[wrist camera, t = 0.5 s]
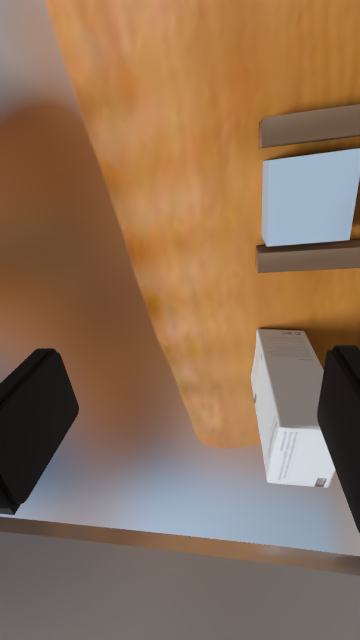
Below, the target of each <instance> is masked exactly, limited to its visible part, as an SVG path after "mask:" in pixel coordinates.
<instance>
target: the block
mask: <svg viewBox="0 0 360 640" xmlns="http://www.w3.org/2000/svg"><path fill="white" fill-rule="evenodd" d="M359 178H360V148H358V149H350V150H342V151H335V152H327V153H320V154H312V155H305V156H297V157H289V158H282V159H274V160H267V161H263V190H262V238H263V240H264V242H265V244H266V246H267V247H269V246H281V245H294V244H306V243H319V242H331V241H344V240H350V234H351V228H352V221H353V215H354V209H355V203H356V197H357V190H358V184H359Z"/></svg>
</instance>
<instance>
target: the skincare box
mask: <svg viewBox="0 0 360 640" xmlns="http://www.w3.org/2000/svg"><path fill="white" fill-rule="evenodd" d="M256 337H257V338H256V349H255V357H254V363H253V369H252V373H251V382H252V389H253V395H254V402H255V408H256V414H257V420H258V427H259V433H260V438H261V443H262V449H263V455H264V463H265V470H266V477H267V482H269V483H277V484H290V485H302V486H316V487H329V486H330V483H331V480H332V477H333V475H334V472H335V467H334V464H333V462H332V459H331V456H330V453H329V451H328V448H327V445H326V443H325V440H324V437H323V435H322V432H321V429H320V427H319V424H318V420H317V409H318V403H319V397H320V391H321V385H322V379H323V373H324V370H323V368H322V366H321V364H320V362H319V360H318V358H317V356H316V354H315V352H314V350H313V348H312V346H311V344H310V342H309V340H308V338H307V336H306V334H305V332H304V331H298V330H277V329H257V334H256Z"/></svg>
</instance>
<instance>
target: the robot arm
mask: <svg viewBox="0 0 360 640" xmlns="http://www.w3.org/2000/svg"><path fill="white" fill-rule="evenodd" d="M78 411H79V406H78V403H77V400H76V397H75V394H74V392H73V389H72V386H71V383H70V380H69V378H68V375H67V372H66V369H65V366H64V364H63V361H62V358H61V355H60V354H59V353H58V352H56V350H55V349H36V350H35V351H34V352H33V353H32V354H31V355H30V356H29V357H28V358H27V359H25V360H24V361H23V362H22V363H21V364H20V365H19V366H18V367H17V368H16V369H15V370H14V371H13V372H12V373H11V374H10V375H9V376H8V377H7V378H6V379H5V380H4V381H3V382H2V383H0V514H9V515H14V514H15V513H16V511H17V509H18V508H19V506H20V504H22V503H24V502H25V501H26V500H27V498H28V497H29V495H30V494H31V492H32V490H33V488H34V487H35V485H36V484H37V482H38V480H39V479H40V477H41V475H42V473H43V472H44V470H45V468H46V467H47V465H48V463H49V462H50V460H51V458H52V457H53V455H54V453H55V452H56V450H57V448H58V447H59V445H60V443H61V442H62V440H63V438H64V437H65V435H66V433H67V432H68V429H69V428H70V427H71V425H72V423H73V422H74V420H75V418H76V417H77V415H78ZM317 420H318V424H319V427H320V429H321V432H322V435H323V437H324V440H325V443H326V445H327V448H328V451H329V453H330V456H331V459H332V462H333V464H334V467H335V470H336V472H337V475H338V478H339V480H340V483H341V486H342V488H343V491H344V494H345V496H346V499H347V502H348V504H349V507H350V510H351V513H352V515H353V518H354V521H355V523H356V526H357V529H358V531H359V532H360V350H359V349H358V347H357V346H354V345H353V346H334V348H333V350H329V351H328V352H327V355H326V361H325V367H324V373H323V379H322V385H321V391H320V397H319V403H318V409H317ZM0 640H360V557H359V556H352V555H344V554H336V553H329V552H321V551H313V550H305V549H297V548H290V547H281V546H272V545H263V544H254V543H245V542H236V541H227V540H218V539H209V538H200V537H191V536H182V535H172V534H163V533H153V532H144V531H135V530H125V529H116V528H106V527H96V526H87V525H76V524H67V523H58V522H48V521H37V520H27V519H17V518H7V517H0Z"/></svg>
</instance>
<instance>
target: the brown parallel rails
mask: <svg viewBox="0 0 360 640" xmlns="http://www.w3.org/2000/svg"><path fill="white" fill-rule="evenodd" d="M357 136H360V104H356V105H349V106H342V107H335V108H327V109H320V110H313V111H306V112H299V113H291V114H284V115H277V116H270V117H263V118H262V120H261V121H260V122H259V148H267V147H275V146H283V145H291V144H300V143H308V142H316V141H324V140H333V139H341V138H349V137H357ZM256 267H257V270H258V273H268V272H288V271H308V270H328V269H348V268H360V239H354V240H344V241H331V242H319V243H306V244H294V245H281V246H269V247H267V246H266V245H262V246H256Z"/></svg>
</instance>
